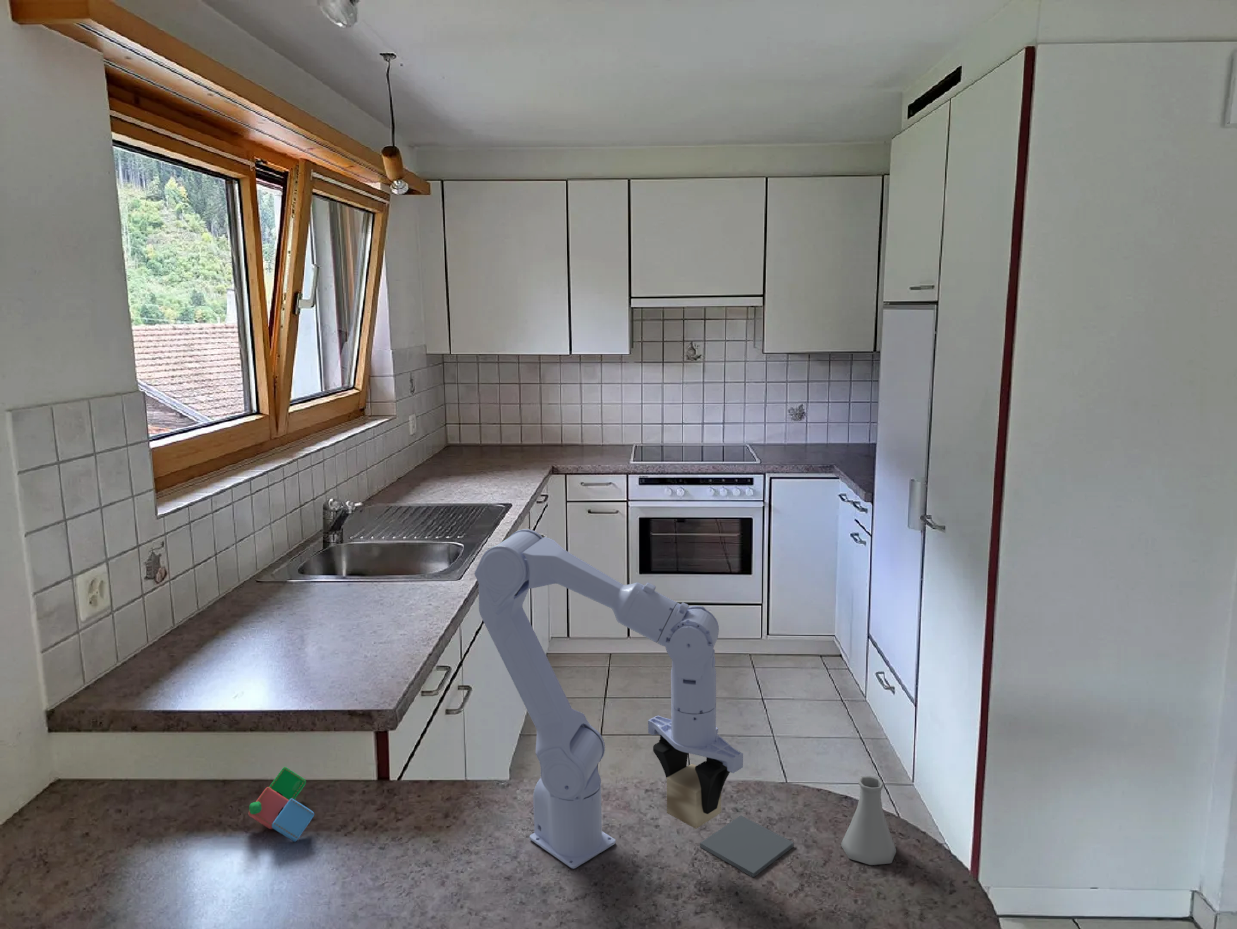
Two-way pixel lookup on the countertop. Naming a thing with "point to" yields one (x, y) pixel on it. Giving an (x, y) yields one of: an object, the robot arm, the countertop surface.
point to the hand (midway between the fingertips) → (693, 801)
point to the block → (687, 798)
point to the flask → (869, 827)
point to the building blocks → (282, 806)
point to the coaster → (747, 845)
